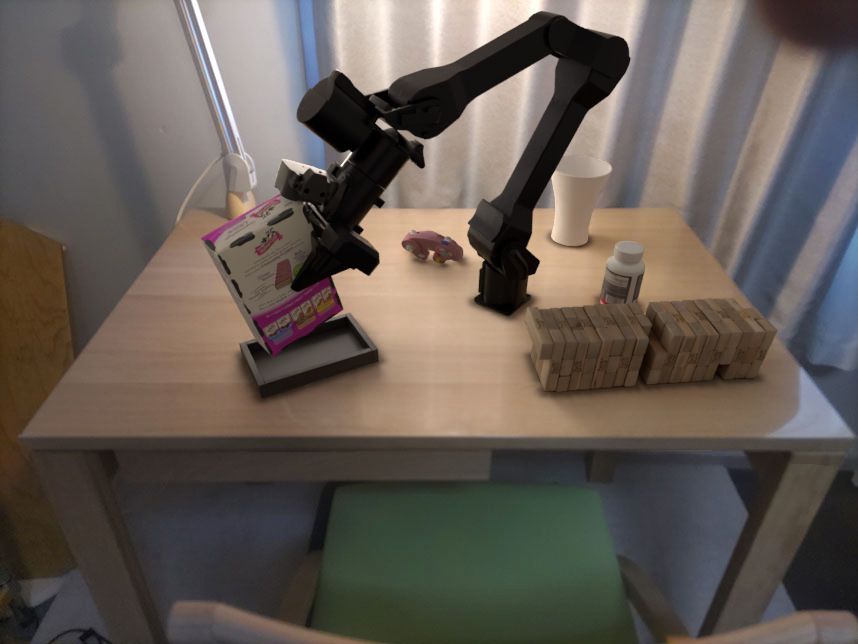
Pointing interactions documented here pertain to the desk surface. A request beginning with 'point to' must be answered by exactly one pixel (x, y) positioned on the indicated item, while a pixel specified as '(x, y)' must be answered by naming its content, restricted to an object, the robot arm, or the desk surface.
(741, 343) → the block tower
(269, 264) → the candy bar box
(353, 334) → the tray
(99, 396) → the desk surface
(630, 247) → the pill bottle
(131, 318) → the desk surface
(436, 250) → the video game controller
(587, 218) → the cup
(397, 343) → the desk surface
